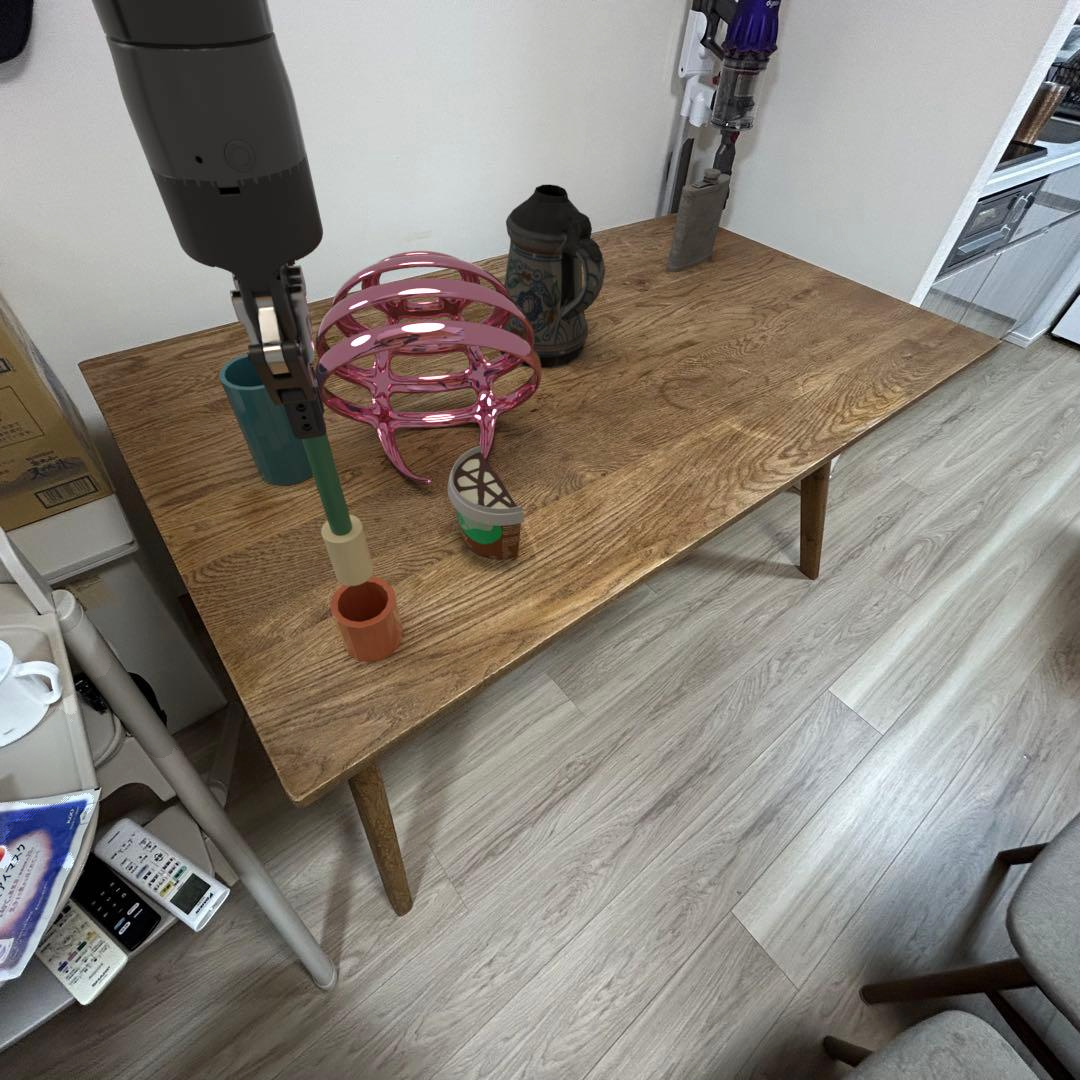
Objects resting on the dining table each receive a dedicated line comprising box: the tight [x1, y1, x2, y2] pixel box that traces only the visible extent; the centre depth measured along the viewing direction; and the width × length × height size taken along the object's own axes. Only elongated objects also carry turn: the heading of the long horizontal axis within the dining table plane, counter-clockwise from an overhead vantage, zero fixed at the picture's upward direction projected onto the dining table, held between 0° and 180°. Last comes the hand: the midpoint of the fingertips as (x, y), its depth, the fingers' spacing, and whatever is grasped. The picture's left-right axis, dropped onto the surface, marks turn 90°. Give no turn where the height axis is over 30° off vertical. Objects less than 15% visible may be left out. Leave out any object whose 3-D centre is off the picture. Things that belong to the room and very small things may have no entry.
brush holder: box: [330, 576, 404, 663], centre depth 62 cm, size 6×6×7 cm
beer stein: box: [499, 184, 606, 369], centre depth 96 cm, size 16×19×25 cm
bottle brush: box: [302, 432, 374, 586], centre depth 48 cm, size 3×3×22 cm
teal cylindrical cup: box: [218, 353, 313, 486], centre depth 77 cm, size 8×8×15 cm
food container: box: [447, 445, 525, 560], centre depth 71 cm, size 12×6×10 cm, turn 27°
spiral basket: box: [314, 250, 543, 486], centre depth 76 cm, size 28×28×27 cm
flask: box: [666, 167, 732, 273], centre depth 124 cm, size 4×14×18 cm, turn 134°
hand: (310, 424), depth 43 cm, fingers closed on bottle brush, 2 cm apart
